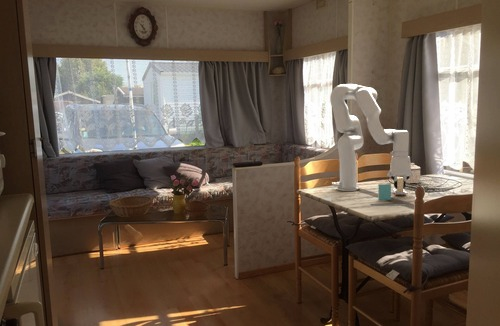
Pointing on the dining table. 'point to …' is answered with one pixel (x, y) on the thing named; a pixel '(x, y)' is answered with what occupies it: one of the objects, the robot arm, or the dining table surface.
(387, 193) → the tile
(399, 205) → the mat
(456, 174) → the dining table surface
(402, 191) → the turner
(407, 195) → the tool rest
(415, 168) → the teacup with lid
